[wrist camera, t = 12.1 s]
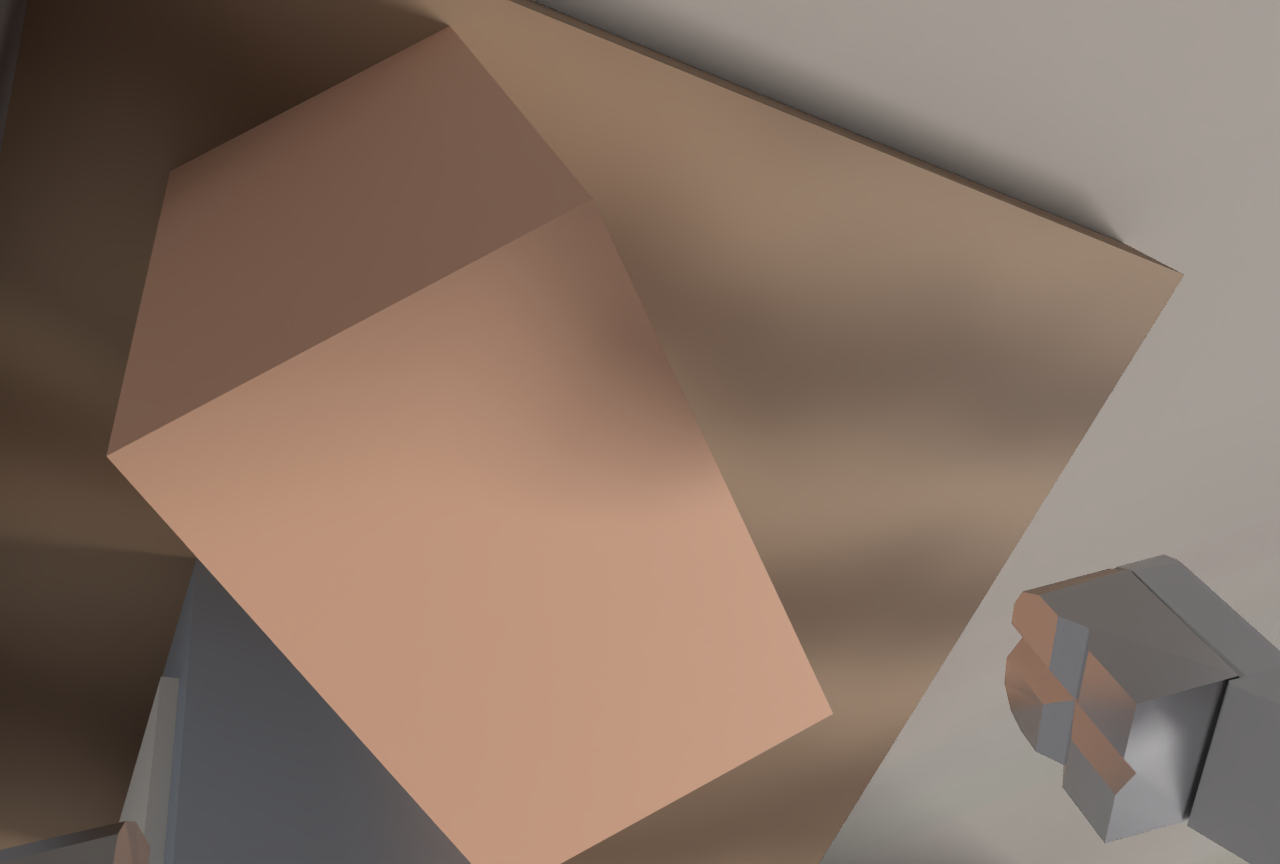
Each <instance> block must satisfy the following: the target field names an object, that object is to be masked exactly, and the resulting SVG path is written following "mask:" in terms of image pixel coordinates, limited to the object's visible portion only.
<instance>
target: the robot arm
mask: <svg viewBox="0 0 1280 864" xmlns="http://www.w3.org/2000/svg"><path fill="white" fill-rule="evenodd" d="M1012 625H1013V626H1014V627H1015V628H1016V630H1017V631H1018V632H1019V633H1020V634H1021V636H1022V637H1023V638H1022V639H1021V640H1020V642H1019V643H1018V644H1017V645H1016V647H1015V648H1014V649H1013V650H1012V652H1011V653H1010V654H1009V656H1008V657H1007V661H1006V673H1005V687H1006V691H1007V696H1008V700H1009V704H1010V708H1011V711H1012V713H1013V715H1014V718H1015V720H1016V722H1017V724H1018V726H1019V728H1020V730H1021V731H1022V733H1023V734H1024V736H1025V737H1026V738H1027V740H1028V741H1029V743H1030V744H1031V745H1032V747H1033V748H1034V750H1035V751H1036V752H1038V753H1040V754H1042V755H1045V756H1047V757H1049V758H1051V759H1053V760H1055V761H1057V762H1059V763H1061V764H1063V765H1064V768H1063V789H1064V790H1065V791H1066V792H1067V794H1068V795H1069V796H1070V798H1071V799H1072V800H1073V802H1074V803H1075V804H1076V806H1077V807H1078V808H1079V810H1080V811H1081V812H1082V814H1083V815H1084V816H1085V818H1086V819H1087V820H1088V822H1089V823H1090V824H1091V826H1092V827H1093V828H1094V829H1095V831H1096V832H1097V833H1098V835H1099V836H1100V837H1101V839H1102V840H1103V841H1104V843H1107V842H1111V841H1114V840H1118V839H1122V838H1125V837H1129V836H1133V835H1137V834H1140V833H1144V832H1148V831H1151V830H1155V829H1159V828H1162V827H1166V826H1170V825H1173V824H1177V823H1181V822H1184V821H1188V820H1189V821H1188V824H1187V826H1189V827H1190V828H1192V829H1194V830H1195V831H1197V832H1199V833H1200V834H1202V835H1204V836H1205V837H1207V838H1209V839H1210V840H1212V841H1214V842H1215V843H1217V844H1219V845H1220V846H1222V847H1224V848H1225V849H1227V850H1229V851H1230V852H1232V853H1234V854H1235V855H1237V856H1238V857H1240V858H1242V859H1243V860H1245V861H1247V862H1248V863H1250V864H1280V651H1279V650H1278V649H1277V648H1276V647H1275V646H1274V645H1272V644H1271V643H1270V642H1269V641H1268V640H1267V639H1266V638H1265V637H1264V636H1262V635H1261V634H1260V633H1259V632H1258V631H1257V630H1256V629H1255V628H1254V627H1252V626H1251V625H1250V624H1249V623H1248V622H1247V621H1246V620H1245V619H1244V618H1242V617H1241V616H1240V615H1239V614H1238V613H1237V612H1236V611H1235V610H1233V609H1232V608H1231V607H1230V606H1229V605H1228V604H1227V603H1226V602H1225V601H1223V600H1222V599H1221V598H1220V597H1219V596H1218V595H1217V594H1216V593H1215V592H1213V591H1212V590H1211V589H1210V588H1209V587H1208V586H1207V585H1206V584H1205V583H1203V582H1202V581H1201V580H1200V579H1199V578H1198V577H1197V576H1196V575H1194V574H1193V573H1192V572H1191V571H1190V570H1189V569H1188V568H1187V567H1186V566H1184V565H1183V564H1182V563H1181V562H1180V561H1178V560H1177V559H1174V558H1171V557H1169V556H1166V555H1160V556H1156V557H1153V558H1149V559H1145V560H1141V561H1137V562H1134V563H1130V564H1126V565H1122V566H1118V567H1116V568H1115V569H1106V570H1102V571H1099V572H1095V573H1091V574H1087V575H1084V576H1080V577H1076V578H1072V579H1069V580H1065V581H1061V582H1057V583H1054V584H1050V585H1046V586H1042V587H1039V588H1035V589H1031V590H1027V591H1024V592H1022V593H1021V595H1020V596H1019V598H1018V599H1017V601H1016V602H1015V604H1014V611H1013V617H1012ZM149 852H150V845H149V844H148V842H147V840H146V838H145V836H144V835H143V833H142V831H141V829H140V828H139V826H138V824H137V822H134V821H123V822H119V823H114V824H110V825H106V826H101V827H97V828H93V829H88V830H84V831H80V832H75V833H71V834H67V835H62V836H58V837H54V838H49V839H45V840H40V841H36V842H32V843H27V844H23V845H19V846H14V847H10V848H6V849H1V850H0V864H148V860H149Z"/></svg>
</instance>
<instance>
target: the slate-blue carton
mask: <svg viewBox="0 0 1280 864" xmlns="http://www.w3.org/2000/svg"><path fill="white" fill-rule="evenodd" d="M123 821H134V822H137V824H138V826H139V828H140V829H141V831H142V833H143V835H144V836H145V838H146V840H147V842H148V844H149V845H150V852H149V860H148V864H471V863H470V862H469V861H468V860H467V858H466V857H465V856H464V855H463V854H462V853H461V852H460V851H459V849H458V848H457V847H456V846H455V845H454V844H453V843H452V842H451V841H450V839H449V838H448V837H447V836H446V835H445V834H444V833H443V832H442V830H441V829H440V828H439V827H438V826H437V825H436V824H435V823H434V822H433V820H432V819H431V818H430V817H429V816H428V815H427V814H426V813H425V811H424V810H423V809H422V808H421V807H420V806H419V805H418V804H417V803H416V801H415V800H414V799H413V798H412V797H411V796H410V795H409V794H408V792H407V791H406V790H405V789H404V788H403V787H402V786H401V785H400V784H399V782H398V781H397V780H396V779H395V778H394V777H393V776H392V775H391V773H390V772H389V771H388V770H387V769H386V768H385V767H384V766H383V765H382V763H381V762H380V761H379V760H378V759H377V758H376V757H375V756H374V755H373V753H372V752H371V751H370V750H369V749H368V748H367V747H366V746H365V744H364V743H363V742H362V741H361V740H360V739H359V738H358V737H357V736H356V734H355V733H354V732H353V731H352V730H351V729H350V728H349V727H348V725H347V724H346V723H345V722H344V721H343V720H342V719H341V718H340V717H339V715H338V714H337V713H336V712H335V711H334V710H333V709H332V708H331V706H330V705H329V704H328V703H327V702H326V701H325V700H324V699H323V698H322V696H321V695H320V694H319V693H318V692H317V691H316V690H315V689H314V687H313V686H312V685H311V684H310V683H309V682H308V681H307V680H306V679H305V677H304V676H303V675H302V674H301V673H300V672H299V671H298V670H297V669H296V667H295V666H294V665H293V664H292V663H291V662H290V661H289V660H288V658H287V657H286V656H285V655H284V654H283V653H282V652H281V651H280V650H279V648H278V647H277V646H276V645H275V644H274V643H273V642H272V641H271V639H270V638H269V637H268V636H267V635H266V634H265V633H264V632H263V631H262V629H261V628H260V627H259V626H258V625H257V624H256V623H255V622H254V620H253V619H252V618H251V617H250V616H249V615H248V614H247V613H246V612H245V610H244V609H243V608H242V607H241V606H240V605H239V604H238V603H237V601H236V600H235V599H234V598H233V597H232V596H231V595H230V594H229V593H228V591H227V590H226V589H225V588H224V587H223V586H222V585H221V584H220V582H219V581H218V580H217V579H216V578H215V577H214V576H213V575H212V574H211V572H210V571H209V570H208V569H207V568H206V567H205V566H204V565H203V564H202V562H201V561H200V560H199V559H198V558H196V561H195V565H194V568H193V572H192V575H191V579H190V582H189V586H188V589H187V593H186V596H185V599H184V603H183V606H182V610H181V613H180V617H179V620H178V624H177V627H176V631H175V634H174V638H173V641H172V645H171V648H170V651H169V655H168V658H167V662H166V665H165V669H164V672H163V676H161V678H160V681H159V685H158V688H157V692H156V695H155V699H154V702H153V706H152V709H151V713H150V716H149V720H148V723H147V727H146V730H145V734H144V737H143V741H142V744H141V747H140V751H139V754H138V758H137V761H136V765H135V768H134V772H133V775H132V779H131V782H130V786H129V789H128V793H127V796H126V800H125V803H124V807H123V810H122V813H121V817H120V820H119V822H123Z"/></svg>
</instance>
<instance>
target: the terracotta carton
mask: <svg viewBox="0 0 1280 864" xmlns="http://www.w3.org/2000/svg"><path fill="white" fill-rule="evenodd" d="M107 457H108V459H109V460H110V461H111V462H112V463H113V464H114V465H115V466H116V467H117V469H118V470H119V471H120V472H121V473H122V474H123V475H124V476H125V477H126V479H127V480H128V481H129V482H130V483H131V484H132V485H133V486H134V488H135V489H136V490H137V491H138V492H139V493H140V494H141V495H142V496H143V498H144V499H145V500H146V501H147V502H148V503H149V504H150V505H151V507H152V508H153V509H154V510H155V511H156V512H157V513H158V514H159V515H160V517H161V518H162V519H163V520H164V521H165V522H166V523H167V524H168V526H169V527H170V528H171V529H172V530H173V531H174V532H175V533H176V534H177V536H178V537H179V538H180V539H181V540H182V541H183V542H184V543H185V545H186V546H187V547H188V548H189V549H190V550H191V551H192V552H193V553H194V555H195V556H196V557H197V558H198V559H199V560H200V561H201V562H202V564H203V565H204V566H205V567H206V568H207V569H208V570H209V571H210V572H211V574H212V575H213V576H214V577H215V578H216V579H217V580H218V581H219V582H220V584H221V585H222V586H223V587H224V588H225V589H226V590H227V591H228V593H229V594H230V595H231V596H232V597H233V598H234V599H235V600H236V601H237V603H238V604H239V605H240V606H241V607H242V608H243V609H244V610H245V612H246V613H247V614H248V615H249V616H250V617H251V618H252V619H253V620H254V622H255V623H256V624H257V625H258V626H259V627H260V628H261V629H262V631H263V632H264V633H265V634H266V635H267V636H268V637H269V638H270V639H271V641H272V642H273V643H274V644H275V645H276V646H277V647H278V648H279V650H280V651H281V652H282V653H283V654H284V655H285V656H286V657H287V658H288V660H289V661H290V662H291V663H292V664H293V665H294V666H295V667H296V669H297V670H298V671H299V672H300V673H301V674H302V675H303V676H304V677H305V679H306V680H307V681H308V682H309V683H310V684H311V685H312V686H313V687H314V689H315V690H316V691H317V692H318V693H319V694H320V695H321V696H322V698H323V699H324V700H325V701H326V702H327V703H328V704H329V705H330V706H331V708H332V709H333V710H334V711H335V712H336V713H337V714H338V715H339V717H340V718H341V719H342V720H343V721H344V722H345V723H346V724H347V725H348V727H349V728H350V729H351V730H352V731H353V732H354V733H355V734H356V736H357V737H358V738H359V739H360V740H361V741H362V742H363V743H364V744H365V746H366V747H367V748H368V749H369V750H370V751H371V752H372V753H373V755H374V756H375V757H376V758H377V759H378V760H379V761H380V762H381V763H382V765H383V766H384V767H385V768H386V769H387V770H388V771H389V772H390V773H391V775H392V776H393V777H394V778H395V779H396V780H397V781H398V782H399V784H400V785H401V786H402V787H403V788H404V789H405V790H406V791H407V792H408V794H409V795H410V796H411V797H412V798H413V799H414V800H415V801H416V803H417V804H418V805H419V806H420V807H421V808H422V809H423V810H424V811H425V813H426V814H427V815H428V816H429V817H430V818H431V819H432V820H433V822H434V823H435V824H436V825H437V826H438V827H439V828H440V829H441V830H442V832H443V833H444V834H445V835H446V836H447V837H448V838H449V839H450V841H451V842H452V843H453V844H454V845H455V846H456V847H457V848H458V849H459V851H460V852H461V853H462V854H463V855H464V856H465V857H466V858H467V860H468V861H469V862H470V863H471V864H561V863H563V862H565V861H567V860H568V859H570V858H572V857H574V856H576V855H578V854H579V853H581V852H583V851H585V850H587V849H588V848H590V847H592V846H594V845H596V844H598V843H599V842H601V841H603V840H605V839H607V838H608V837H610V836H612V835H614V834H616V833H618V832H619V831H621V830H623V829H625V828H627V827H628V826H630V825H632V824H634V823H636V822H638V821H639V820H641V819H643V818H645V817H647V816H648V815H650V814H652V813H654V812H656V811H657V810H659V809H661V808H663V807H665V806H667V805H668V804H670V803H672V802H674V801H676V800H677V799H679V798H681V797H683V796H685V795H687V794H688V793H690V792H692V791H694V790H696V789H697V788H699V787H701V786H703V785H705V784H707V783H708V782H710V781H712V780H714V779H716V778H717V777H719V776H721V775H723V774H725V773H727V772H728V771H730V770H732V769H734V768H736V767H737V766H739V765H741V764H743V763H745V762H747V761H748V760H750V759H752V758H754V757H756V756H757V755H759V754H761V753H763V752H765V751H767V750H768V749H770V748H772V747H774V746H776V745H777V744H779V743H781V742H783V741H785V740H786V739H788V738H790V737H792V736H794V735H796V734H797V733H799V732H801V731H803V730H805V729H806V728H808V727H810V726H812V725H814V724H816V723H817V722H819V721H821V720H823V719H825V718H826V717H828V716H830V715H832V714H833V712H832V710H831V708H830V706H829V704H828V701H827V699H826V697H825V695H824V693H823V691H822V689H821V686H820V684H819V682H818V680H817V678H816V676H815V674H814V671H813V669H812V667H811V665H810V663H809V661H808V659H807V656H806V654H805V652H804V650H803V648H802V646H801V644H800V641H799V639H798V637H797V635H796V633H795V631H794V629H793V626H792V624H791V622H790V620H789V618H788V616H787V614H786V611H785V609H784V607H783V605H782V603H781V601H780V599H779V597H778V594H777V592H776V590H775V588H774V586H773V584H772V582H771V579H770V577H769V575H768V573H767V571H766V569H765V567H764V564H763V562H762V560H761V558H760V556H759V554H758V552H757V549H756V547H755V545H754V543H753V541H752V539H751V537H750V534H749V532H748V530H747V528H746V526H745V524H744V522H743V519H742V517H741V515H740V513H739V511H738V509H737V507H736V504H735V502H734V500H733V498H732V496H731V494H730V492H729V489H728V487H727V485H726V483H725V481H724V479H723V477H722V474H721V472H720V470H719V468H718V466H717V464H716V462H715V459H714V457H713V455H712V453H711V451H710V449H709V447H708V444H707V442H706V440H705V438H704V436H703V434H702V432H701V429H700V427H699V425H698V423H697V421H696V419H695V417H694V414H693V412H692V410H691V408H690V406H689V404H688V402H687V399H686V397H685V395H684V393H683V391H682V389H681V387H680V385H679V382H678V380H677V378H676V376H675V374H674V372H673V370H672V367H671V365H670V363H669V361H668V359H667V357H666V355H665V352H664V350H663V348H662V346H661V344H660V342H659V340H658V337H657V335H656V333H655V331H654V329H653V327H652V325H651V322H650V320H649V318H648V316H647V314H646V312H645V310H644V307H643V305H642V303H641V301H640V299H639V297H638V295H637V292H636V290H635V288H634V286H633V284H632V282H631V280H630V277H629V275H628V273H627V271H626V269H625V267H624V265H623V262H622V260H621V258H620V256H619V254H618V252H617V250H616V247H615V245H614V243H613V241H612V239H611V237H610V235H609V232H608V230H607V228H606V226H605V224H604V222H603V220H602V217H601V215H600V213H599V211H598V209H597V207H596V205H595V202H594V200H593V198H592V197H591V196H590V195H589V194H588V192H587V191H586V190H585V189H584V188H583V186H582V185H581V184H580V183H579V182H578V180H577V179H576V178H575V177H574V175H573V174H572V173H571V172H570V171H569V169H568V168H567V167H566V166H565V165H564V163H563V162H562V161H561V160H560V159H559V157H558V156H557V155H556V154H555V153H554V151H553V150H552V149H551V148H550V146H549V145H548V144H547V143H546V142H545V140H544V139H543V138H542V137H541V136H540V134H539V133H538V132H537V131H536V130H535V128H534V127H533V126H532V125H531V123H530V122H529V121H528V120H527V119H526V117H525V116H524V115H523V114H522V113H521V111H520V110H519V109H518V108H517V107H516V105H515V104H514V103H513V102H512V101H511V99H510V98H509V97H508V96H507V94H506V93H505V92H504V91H503V90H502V88H501V87H500V86H499V85H498V84H497V82H496V81H495V80H494V79H493V78H492V76H491V75H490V74H489V73H488V71H487V70H486V69H485V68H484V67H483V65H482V64H481V63H480V62H479V61H478V59H477V58H476V57H475V56H474V55H473V53H472V52H471V51H470V50H469V48H468V47H467V46H466V45H465V44H464V42H463V41H462V40H461V39H460V38H459V36H458V35H457V34H456V33H455V32H454V30H453V29H452V28H451V27H450V26H448V27H446V28H445V29H443V30H441V31H439V32H437V33H435V34H433V35H431V36H429V37H427V38H425V39H423V40H421V41H420V42H418V43H416V44H414V45H412V46H410V47H408V48H406V49H404V50H402V51H400V52H398V53H397V54H395V55H393V56H391V57H389V58H387V59H385V60H383V61H381V62H379V63H377V64H375V65H373V66H372V67H370V68H368V69H366V70H364V71H362V72H360V73H358V74H356V75H354V76H352V77H350V78H349V79H347V80H345V81H343V82H341V83H339V84H337V85H335V86H333V87H331V88H329V89H327V90H325V91H324V92H322V93H320V94H318V95H316V96H314V97H312V98H310V99H308V100H306V101H304V102H302V103H301V104H299V105H297V106H295V107H293V108H291V109H289V110H287V111H285V112H283V113H281V114H279V115H277V116H276V117H274V118H272V119H270V120H268V121H266V122H264V123H262V124H260V125H258V126H256V127H254V128H253V129H251V130H249V131H247V132H245V133H243V134H241V135H239V136H237V137H235V138H233V139H231V140H229V141H228V142H226V143H224V144H222V145H220V146H218V147H216V148H214V149H212V150H210V151H208V152H206V153H205V154H203V155H201V156H199V157H197V158H195V159H193V160H191V161H189V162H187V163H185V164H183V165H181V166H180V167H178V168H176V169H174V170H172V171H170V174H169V178H168V183H167V187H166V192H165V196H164V201H163V205H162V210H161V214H160V218H159V223H158V227H157V232H156V236H155V241H154V245H153V250H152V254H151V259H150V263H149V268H148V272H147V277H146V281H145V286H144V290H143V295H142V299H141V304H140V308H139V312H138V317H137V321H136V326H135V330H134V335H133V339H132V344H131V348H130V353H129V357H128V362H127V366H126V371H125V375H124V380H123V384H122V389H121V393H120V397H119V402H118V406H117V411H116V415H115V420H114V424H113V429H112V433H111V438H110V442H109V447H108V451H107Z"/></svg>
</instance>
